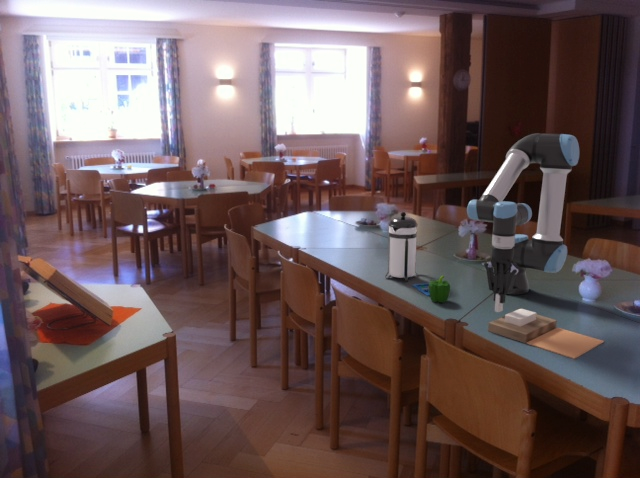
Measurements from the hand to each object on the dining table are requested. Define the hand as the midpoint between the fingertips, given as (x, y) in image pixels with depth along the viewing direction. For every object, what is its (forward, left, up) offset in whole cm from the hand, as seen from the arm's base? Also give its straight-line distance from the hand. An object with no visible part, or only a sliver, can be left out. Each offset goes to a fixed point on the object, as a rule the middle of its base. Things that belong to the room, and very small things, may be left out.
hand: (498, 310), depth 212 cm
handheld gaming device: (-11, -40, -5) cm, 42 cm away
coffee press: (-17, -60, -5) cm, 63 cm away
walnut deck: (0, +10, -4) cm, 11 cm away
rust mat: (0, +25, -4) cm, 26 cm away
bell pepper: (-3, -28, -5) cm, 29 cm away
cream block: (0, +9, -1) cm, 9 cm away
